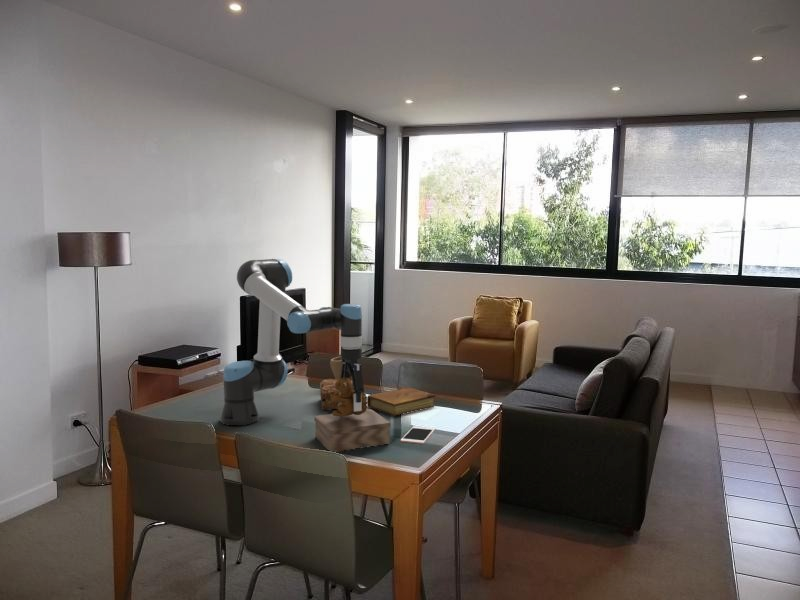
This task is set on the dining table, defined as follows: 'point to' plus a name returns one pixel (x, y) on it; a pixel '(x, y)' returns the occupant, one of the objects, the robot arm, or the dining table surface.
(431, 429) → the cell phone
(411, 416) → the dining table surface
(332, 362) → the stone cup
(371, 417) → the walnut box
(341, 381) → the stuffed squirrel
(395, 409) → the diary
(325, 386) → the bread
